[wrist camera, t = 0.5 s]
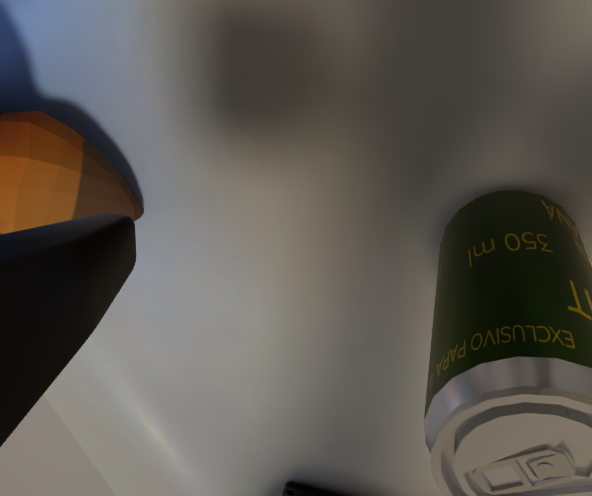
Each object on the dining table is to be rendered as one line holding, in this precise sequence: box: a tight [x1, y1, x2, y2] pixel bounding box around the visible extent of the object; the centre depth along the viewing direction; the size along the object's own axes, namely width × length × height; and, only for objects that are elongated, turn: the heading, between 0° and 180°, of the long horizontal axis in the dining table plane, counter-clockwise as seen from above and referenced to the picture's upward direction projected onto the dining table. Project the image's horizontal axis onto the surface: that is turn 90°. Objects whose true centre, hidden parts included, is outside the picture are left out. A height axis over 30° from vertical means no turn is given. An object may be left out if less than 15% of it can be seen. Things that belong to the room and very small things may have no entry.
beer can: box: [424, 191, 592, 496], centre depth 18 cm, size 5×5×12 cm
